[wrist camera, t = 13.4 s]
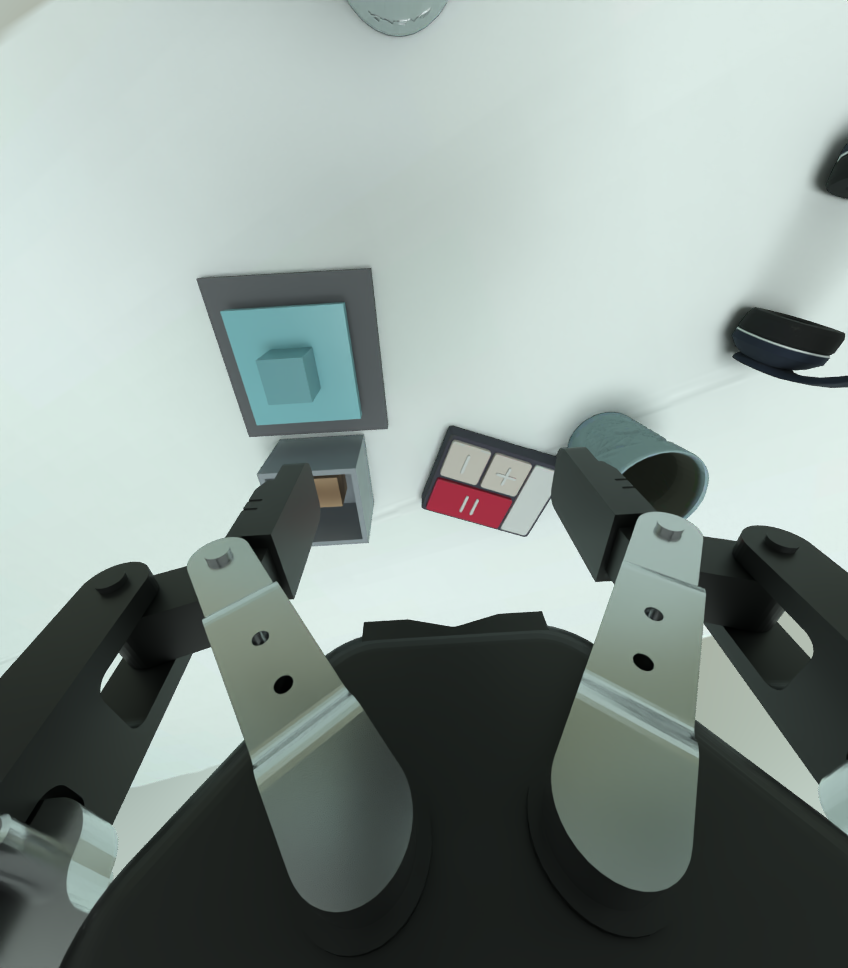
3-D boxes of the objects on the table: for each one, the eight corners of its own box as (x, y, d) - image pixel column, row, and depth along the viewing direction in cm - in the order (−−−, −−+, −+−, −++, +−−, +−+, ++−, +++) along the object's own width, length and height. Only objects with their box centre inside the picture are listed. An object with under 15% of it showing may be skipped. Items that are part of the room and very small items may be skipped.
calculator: (450, 436, 41) (570, 473, 43) (449, 421, 44) (559, 456, 47) (420, 512, 46) (528, 541, 49) (420, 493, 50) (521, 521, 52)
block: (309, 462, 45) (301, 479, 42) (342, 460, 45) (336, 477, 42) (316, 489, 47) (309, 508, 44) (347, 487, 47) (342, 506, 44)
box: (280, 439, 44) (256, 474, 37) (363, 434, 44) (355, 468, 37) (299, 507, 49) (282, 548, 42) (373, 502, 49) (368, 542, 43)
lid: (232, 307, 35) (198, 318, 29) (347, 300, 35) (335, 310, 30) (265, 415, 41) (242, 442, 35) (363, 409, 41) (356, 434, 35)
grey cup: (597, 489, 49) (645, 551, 39) (542, 453, 46) (579, 511, 36) (659, 431, 45) (732, 484, 35) (603, 387, 42) (666, 431, 32)
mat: (201, 277, 35) (196, 278, 34) (371, 268, 35) (370, 268, 34) (252, 433, 43) (249, 436, 42) (388, 425, 43) (387, 428, 42)
